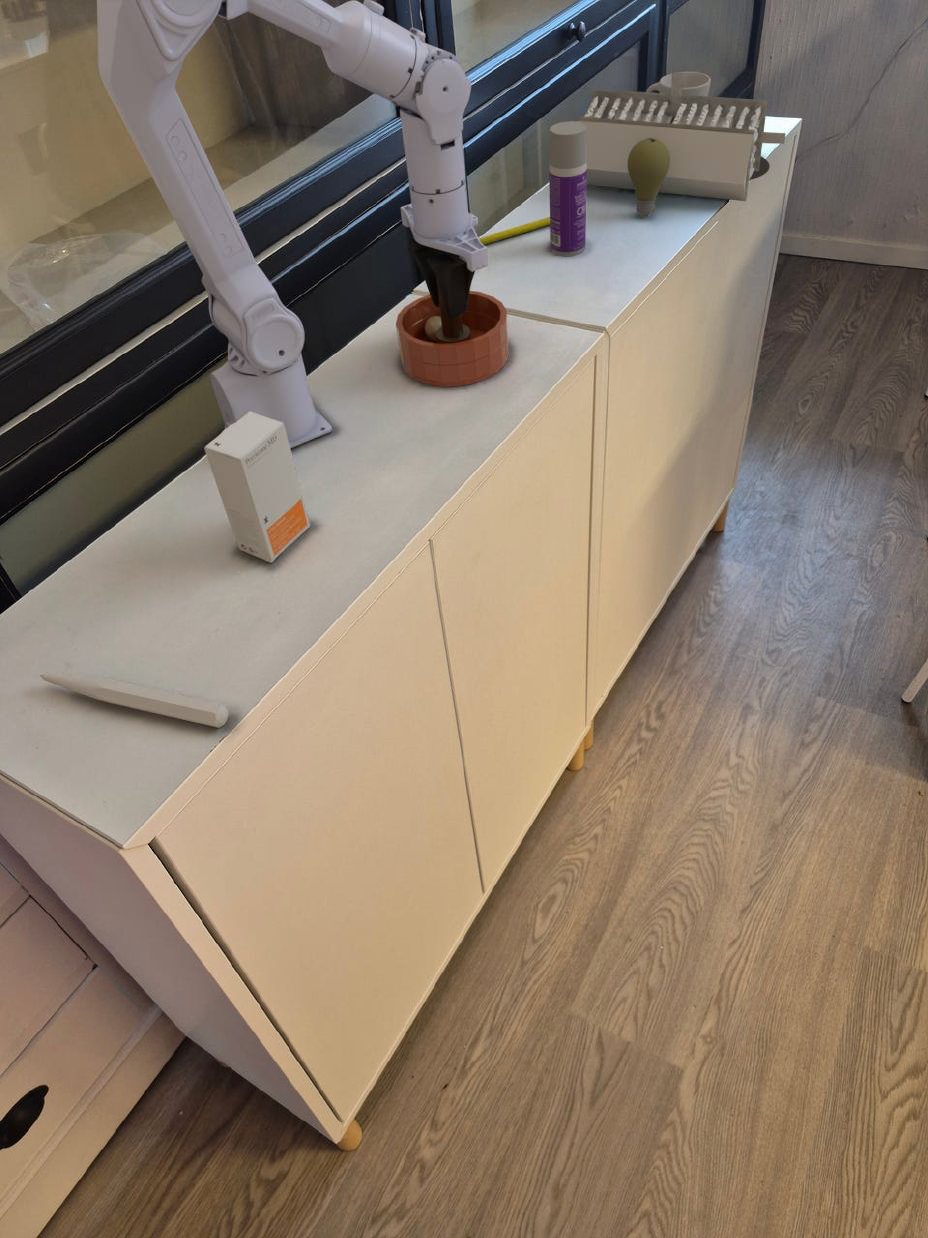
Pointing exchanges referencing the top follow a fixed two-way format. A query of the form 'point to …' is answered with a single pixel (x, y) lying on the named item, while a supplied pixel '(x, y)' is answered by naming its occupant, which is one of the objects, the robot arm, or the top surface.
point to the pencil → (515, 231)
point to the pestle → (450, 326)
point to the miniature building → (678, 139)
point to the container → (567, 188)
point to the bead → (432, 327)
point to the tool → (143, 698)
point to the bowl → (454, 359)
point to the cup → (685, 84)
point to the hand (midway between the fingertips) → (450, 308)
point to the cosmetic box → (258, 485)
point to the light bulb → (648, 172)
